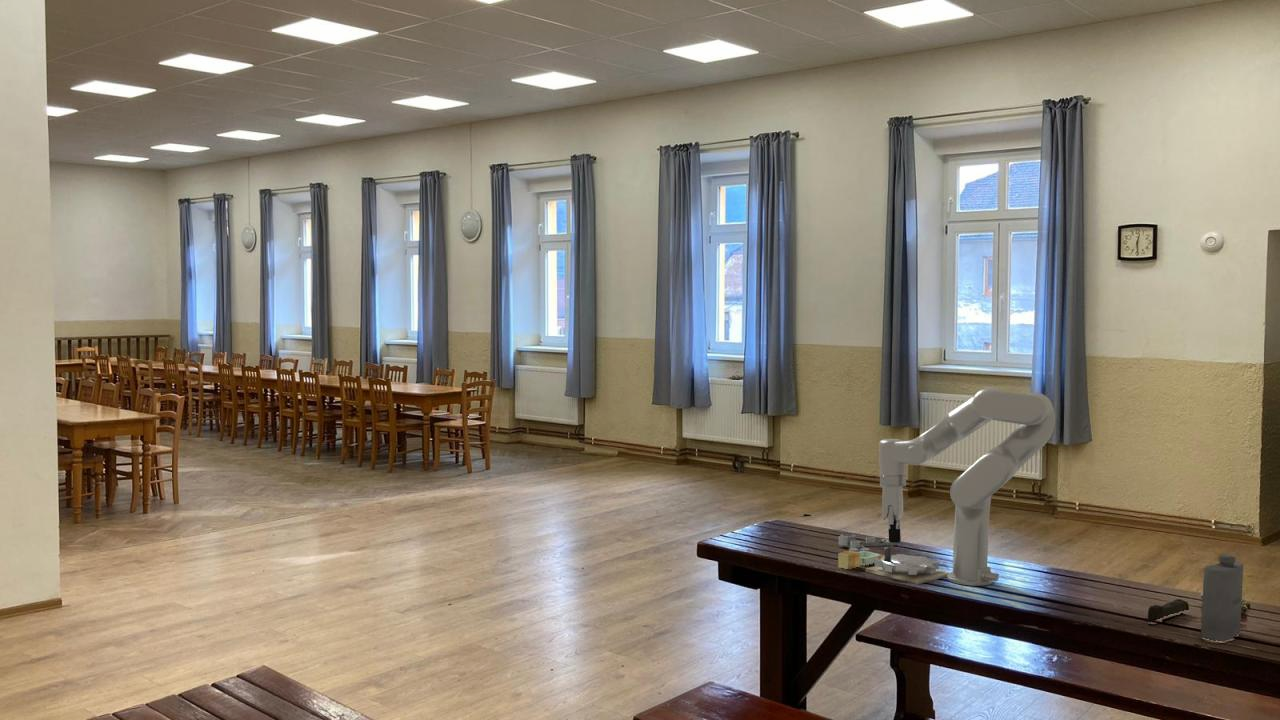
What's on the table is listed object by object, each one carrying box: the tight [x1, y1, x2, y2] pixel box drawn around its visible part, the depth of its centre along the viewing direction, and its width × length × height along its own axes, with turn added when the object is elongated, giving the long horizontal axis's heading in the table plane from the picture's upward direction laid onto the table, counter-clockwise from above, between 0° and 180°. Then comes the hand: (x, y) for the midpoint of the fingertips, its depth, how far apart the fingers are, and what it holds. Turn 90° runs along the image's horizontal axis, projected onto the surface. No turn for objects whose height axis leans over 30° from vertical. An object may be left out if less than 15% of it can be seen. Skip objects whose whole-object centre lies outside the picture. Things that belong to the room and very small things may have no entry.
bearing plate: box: [865, 565, 950, 585], centre depth 313 cm, size 18×16×2 cm
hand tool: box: [1147, 598, 1190, 623], centre depth 272 cm, size 19×4×5 cm, turn 128°
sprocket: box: [874, 546, 940, 575], centre depth 313 cm, size 18×18×6 cm
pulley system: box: [838, 533, 896, 552], centre depth 349 cm, size 27×5×15 cm
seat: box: [859, 551, 882, 567], centre depth 327 cm, size 6×9×2 cm
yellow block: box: [837, 550, 861, 570], centre depth 320 cm, size 4×6×5 cm, turn 132°
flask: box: [1200, 553, 1244, 641], centre depth 256 cm, size 15×6×20 cm, turn 132°
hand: (894, 541), depth 316 cm, fingers closed
